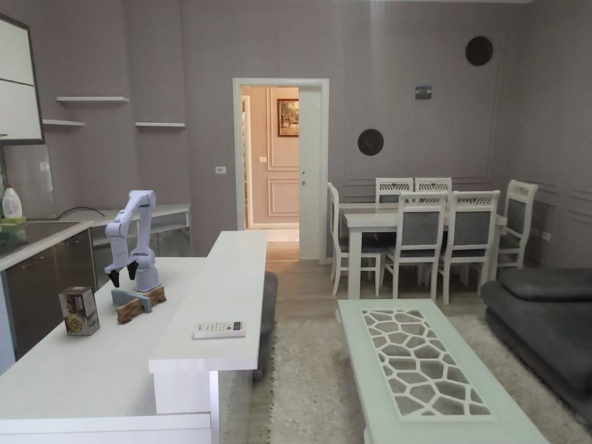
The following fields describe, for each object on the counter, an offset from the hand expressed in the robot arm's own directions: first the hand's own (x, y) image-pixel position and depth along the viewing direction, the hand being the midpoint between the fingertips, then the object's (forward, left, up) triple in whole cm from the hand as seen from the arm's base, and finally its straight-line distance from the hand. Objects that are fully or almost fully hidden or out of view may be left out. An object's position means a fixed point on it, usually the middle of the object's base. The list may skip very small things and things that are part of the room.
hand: (124, 283), depth 156 cm
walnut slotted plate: (+1, +10, -9) cm, 14 cm away
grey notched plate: (+1, +4, -9) cm, 10 cm away
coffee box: (+21, +2, -10) cm, 23 cm away
